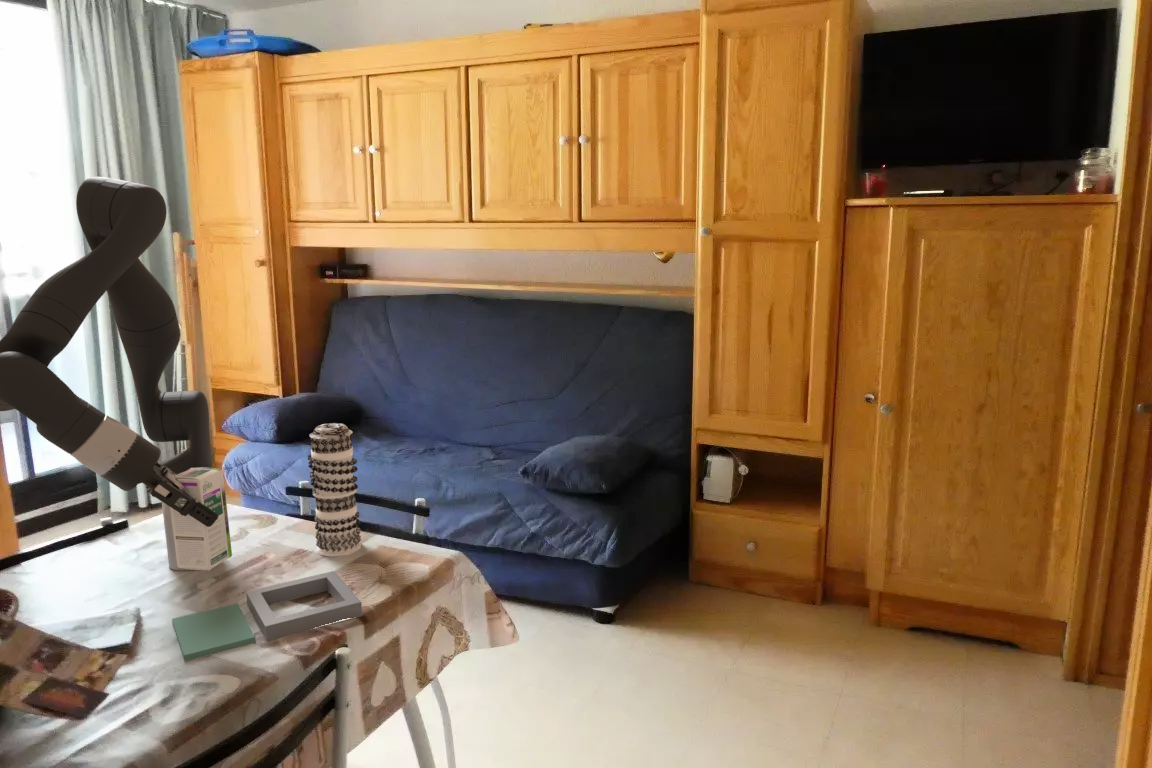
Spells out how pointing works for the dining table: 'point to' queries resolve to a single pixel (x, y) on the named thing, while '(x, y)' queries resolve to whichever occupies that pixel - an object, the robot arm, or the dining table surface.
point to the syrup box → (192, 537)
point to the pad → (212, 631)
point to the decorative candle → (334, 490)
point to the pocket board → (306, 619)
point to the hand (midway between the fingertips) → (209, 513)
